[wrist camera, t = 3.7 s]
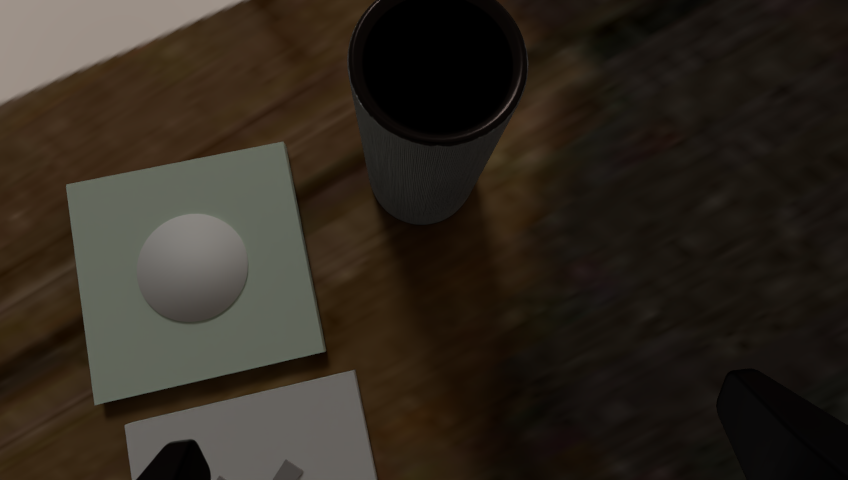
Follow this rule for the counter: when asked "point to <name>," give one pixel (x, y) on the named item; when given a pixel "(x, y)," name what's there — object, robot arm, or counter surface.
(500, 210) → the counter surface
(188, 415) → the pad
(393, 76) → the grey cylinder
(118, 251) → the pad
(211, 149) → the counter surface
